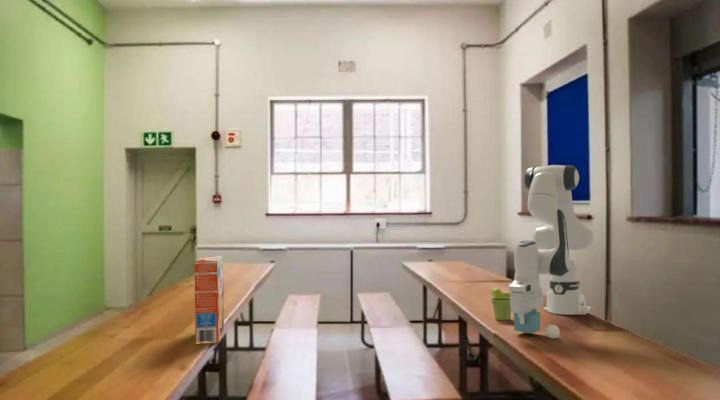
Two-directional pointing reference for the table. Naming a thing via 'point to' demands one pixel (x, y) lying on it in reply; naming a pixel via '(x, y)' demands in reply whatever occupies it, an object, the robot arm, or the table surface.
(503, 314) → the plant pot
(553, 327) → the ball
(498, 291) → the dumbbell
